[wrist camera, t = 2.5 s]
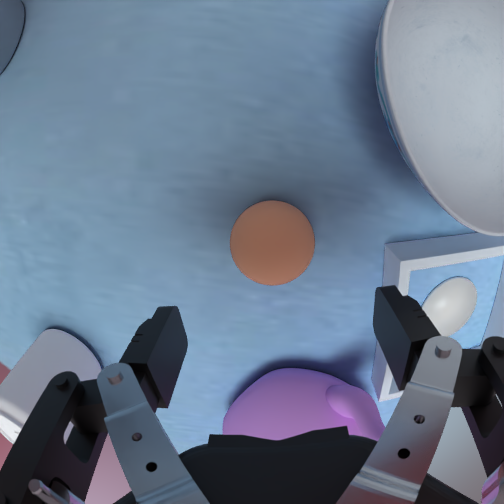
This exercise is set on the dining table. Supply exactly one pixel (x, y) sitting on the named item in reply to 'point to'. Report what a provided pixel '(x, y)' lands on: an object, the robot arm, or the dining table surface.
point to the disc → (451, 304)
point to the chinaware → (447, 101)
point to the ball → (272, 242)
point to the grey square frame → (428, 256)
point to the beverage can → (41, 377)
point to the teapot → (301, 406)
